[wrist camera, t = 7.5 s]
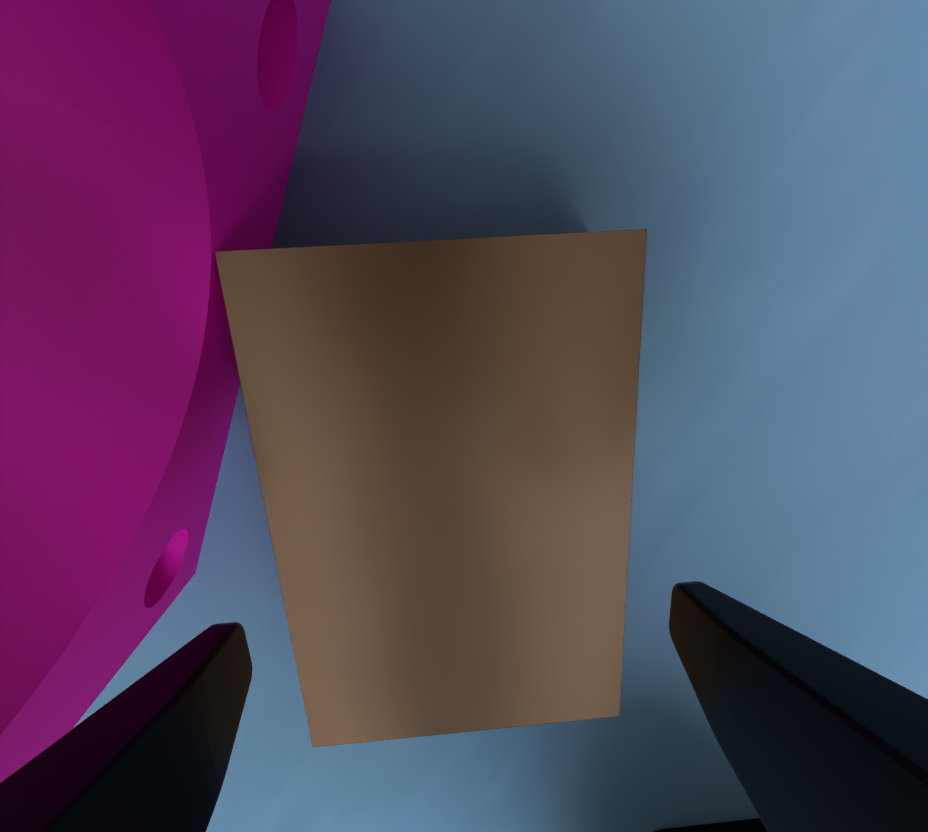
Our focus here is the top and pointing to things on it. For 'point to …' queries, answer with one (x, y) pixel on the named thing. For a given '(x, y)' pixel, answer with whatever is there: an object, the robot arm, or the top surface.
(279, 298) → the walnut plinth
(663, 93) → the top surface
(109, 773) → the robot arm
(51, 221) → the toy block
